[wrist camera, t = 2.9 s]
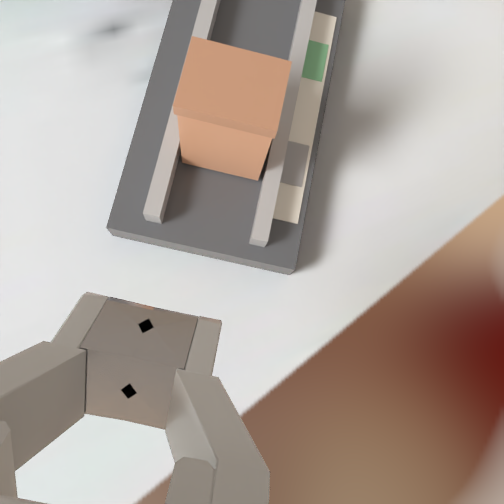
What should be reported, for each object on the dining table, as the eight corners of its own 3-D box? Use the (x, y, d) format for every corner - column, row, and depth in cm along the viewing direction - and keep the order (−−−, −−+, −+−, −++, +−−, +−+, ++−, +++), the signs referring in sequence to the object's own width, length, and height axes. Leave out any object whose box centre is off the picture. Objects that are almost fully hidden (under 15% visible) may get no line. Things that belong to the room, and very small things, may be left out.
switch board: (288, 275, 30) (300, 265, 26) (112, 235, 29) (100, 220, 26) (339, 6, 35) (354, -31, 31) (190, -34, 34) (189, -76, 31)
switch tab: (258, 183, 29) (277, 131, 22) (179, 165, 28) (172, 105, 21) (270, 128, 29) (291, 61, 22) (194, 110, 29) (191, 35, 22)
